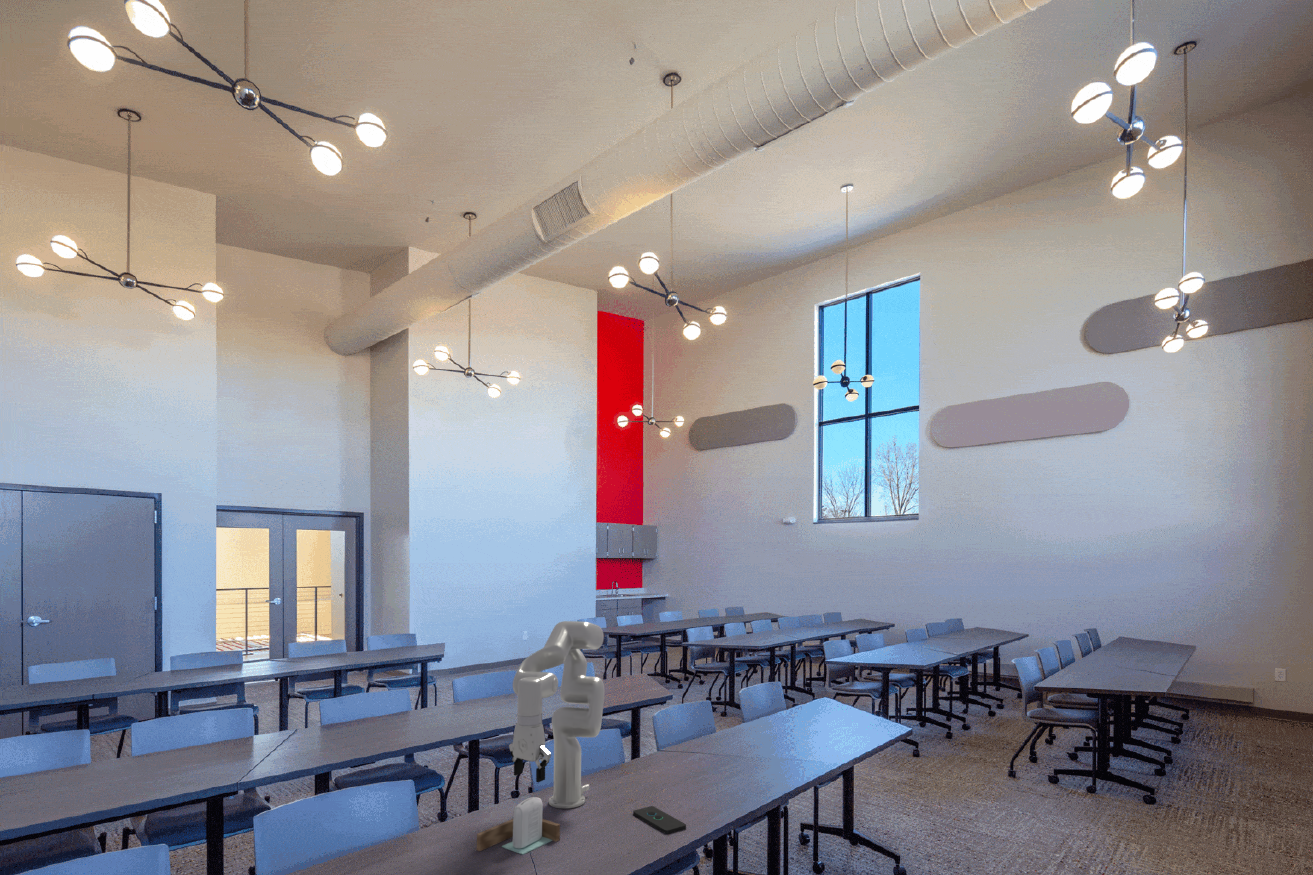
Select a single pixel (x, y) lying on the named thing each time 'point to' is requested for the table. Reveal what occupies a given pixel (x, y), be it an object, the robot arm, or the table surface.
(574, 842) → the table surface
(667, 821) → the smart home device
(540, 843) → the pad
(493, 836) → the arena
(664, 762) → the table surface
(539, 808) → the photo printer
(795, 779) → the table surface
